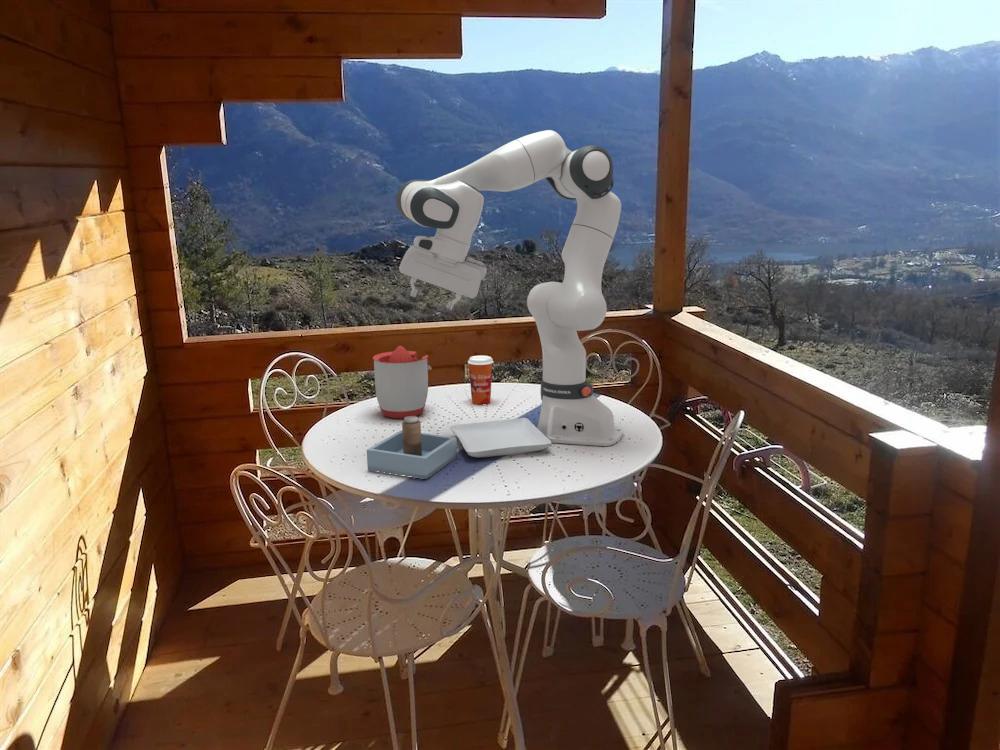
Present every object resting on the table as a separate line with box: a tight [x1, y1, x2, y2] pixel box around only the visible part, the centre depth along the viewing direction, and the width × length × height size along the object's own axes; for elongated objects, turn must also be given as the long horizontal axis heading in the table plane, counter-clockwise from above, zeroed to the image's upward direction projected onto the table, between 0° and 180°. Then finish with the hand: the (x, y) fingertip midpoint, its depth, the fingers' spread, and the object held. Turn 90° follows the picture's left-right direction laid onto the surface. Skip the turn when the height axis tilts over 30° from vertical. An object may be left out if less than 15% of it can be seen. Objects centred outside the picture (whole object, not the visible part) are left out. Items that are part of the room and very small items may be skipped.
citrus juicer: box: [372, 345, 432, 420], centre depth 195 cm, size 16×17×20 cm
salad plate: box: [449, 417, 553, 458], centre depth 170 cm, size 21×21×3 cm
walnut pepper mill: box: [401, 416, 422, 456], centre depth 156 cm, size 4×4×10 cm
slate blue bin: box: [366, 429, 458, 480], centre depth 157 cm, size 15×15×5 cm
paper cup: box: [467, 355, 495, 406], centre depth 206 cm, size 8×8×14 cm
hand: (430, 302), depth 169 cm, fingers open, 8 cm apart
